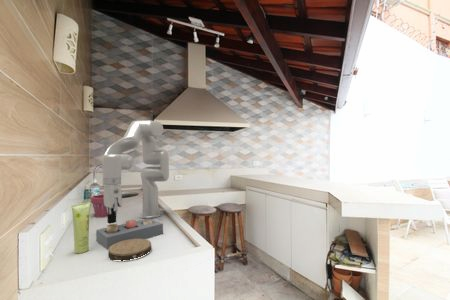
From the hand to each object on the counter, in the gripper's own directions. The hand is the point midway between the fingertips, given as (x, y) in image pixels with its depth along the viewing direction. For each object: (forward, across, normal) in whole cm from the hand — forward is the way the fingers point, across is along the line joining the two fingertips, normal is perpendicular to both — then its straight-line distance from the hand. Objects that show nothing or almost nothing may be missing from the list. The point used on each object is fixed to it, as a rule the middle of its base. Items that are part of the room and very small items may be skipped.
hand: (111, 222), depth 104 cm
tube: (+9, -1, +12) cm, 15 cm away
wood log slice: (+10, -17, -1) cm, 19 cm away
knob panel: (+9, 0, -9) cm, 12 cm away
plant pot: (+8, +54, -14) cm, 57 cm away
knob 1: (+6, 0, 0) cm, 6 cm away
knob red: (+6, 0, -9) cm, 10 cm away
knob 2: (+8, 0, -17) cm, 19 cm away
